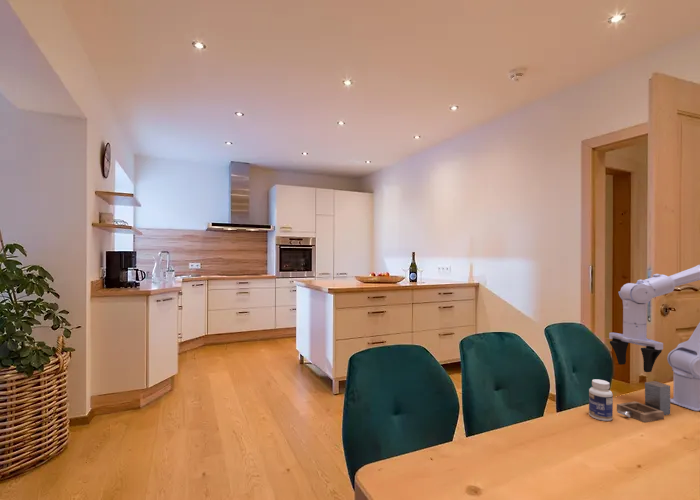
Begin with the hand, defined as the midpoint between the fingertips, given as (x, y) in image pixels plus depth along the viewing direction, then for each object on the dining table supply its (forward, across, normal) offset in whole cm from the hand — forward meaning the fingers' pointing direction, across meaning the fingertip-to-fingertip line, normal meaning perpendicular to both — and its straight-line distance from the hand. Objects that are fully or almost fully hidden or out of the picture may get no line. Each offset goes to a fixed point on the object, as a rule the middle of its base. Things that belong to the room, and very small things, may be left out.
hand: (634, 367), depth 112 cm
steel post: (+10, +7, -1) cm, 13 cm away
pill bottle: (+11, +5, -20) cm, 23 cm away
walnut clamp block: (+10, +7, -9) cm, 16 cm away
